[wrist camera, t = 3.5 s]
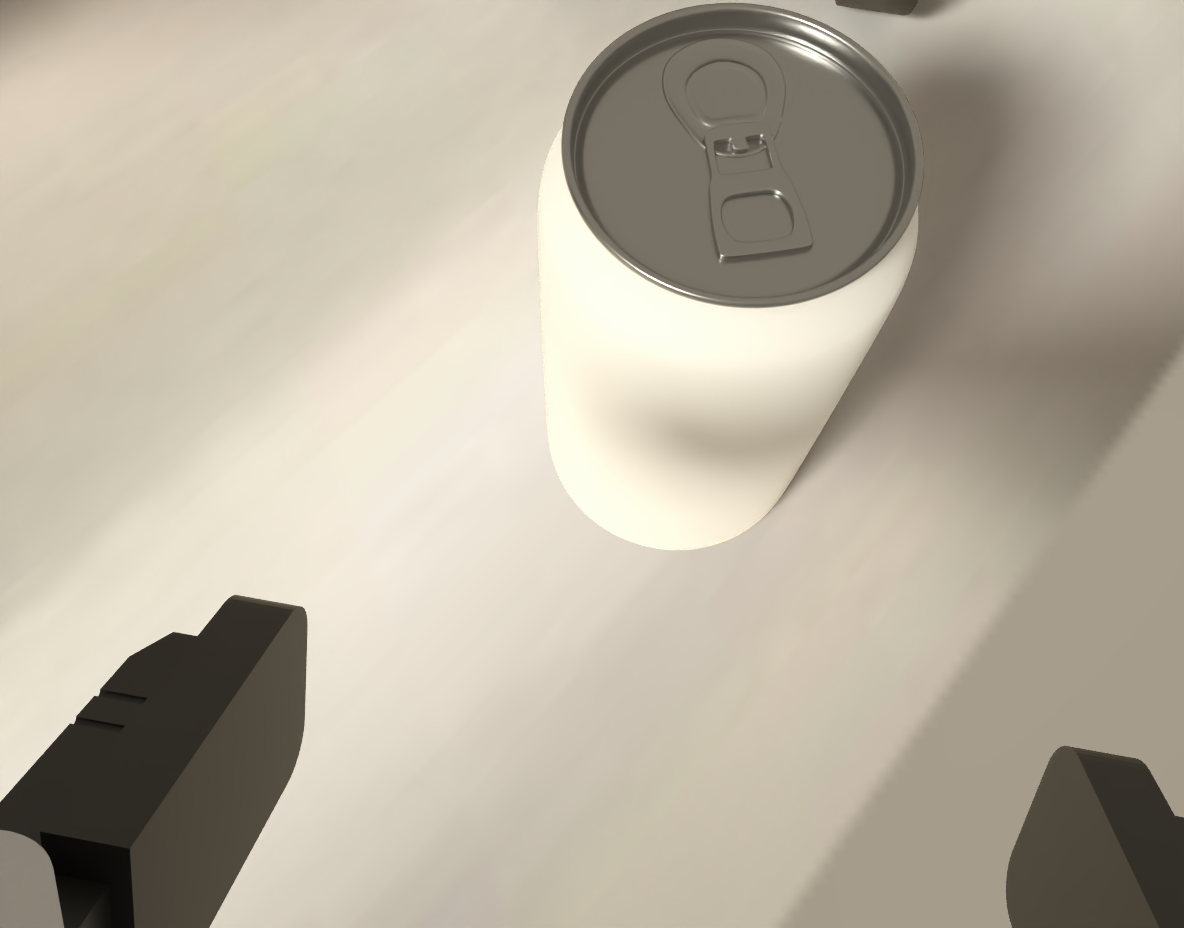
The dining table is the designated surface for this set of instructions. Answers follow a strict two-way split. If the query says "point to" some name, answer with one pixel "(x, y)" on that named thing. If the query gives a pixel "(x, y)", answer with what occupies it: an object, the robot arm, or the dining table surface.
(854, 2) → the trolley
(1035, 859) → the robot arm
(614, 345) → the can
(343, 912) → the dining table surface
